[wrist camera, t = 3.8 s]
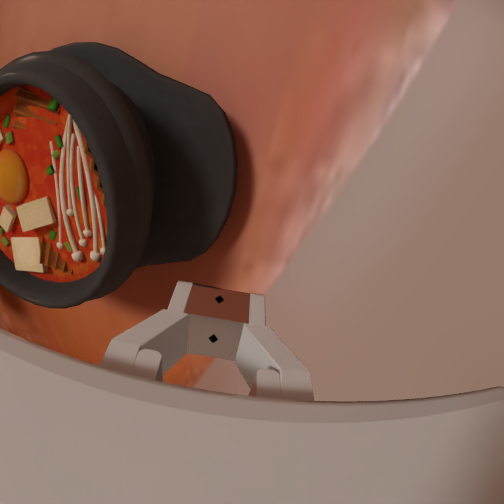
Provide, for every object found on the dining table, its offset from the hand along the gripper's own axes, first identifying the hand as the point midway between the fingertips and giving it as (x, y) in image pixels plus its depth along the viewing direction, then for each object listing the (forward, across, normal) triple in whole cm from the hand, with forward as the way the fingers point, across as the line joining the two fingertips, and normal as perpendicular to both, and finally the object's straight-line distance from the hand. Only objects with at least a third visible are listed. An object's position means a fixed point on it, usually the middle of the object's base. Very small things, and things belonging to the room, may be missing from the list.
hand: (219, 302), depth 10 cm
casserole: (+12, +13, -1) cm, 18 cm away
